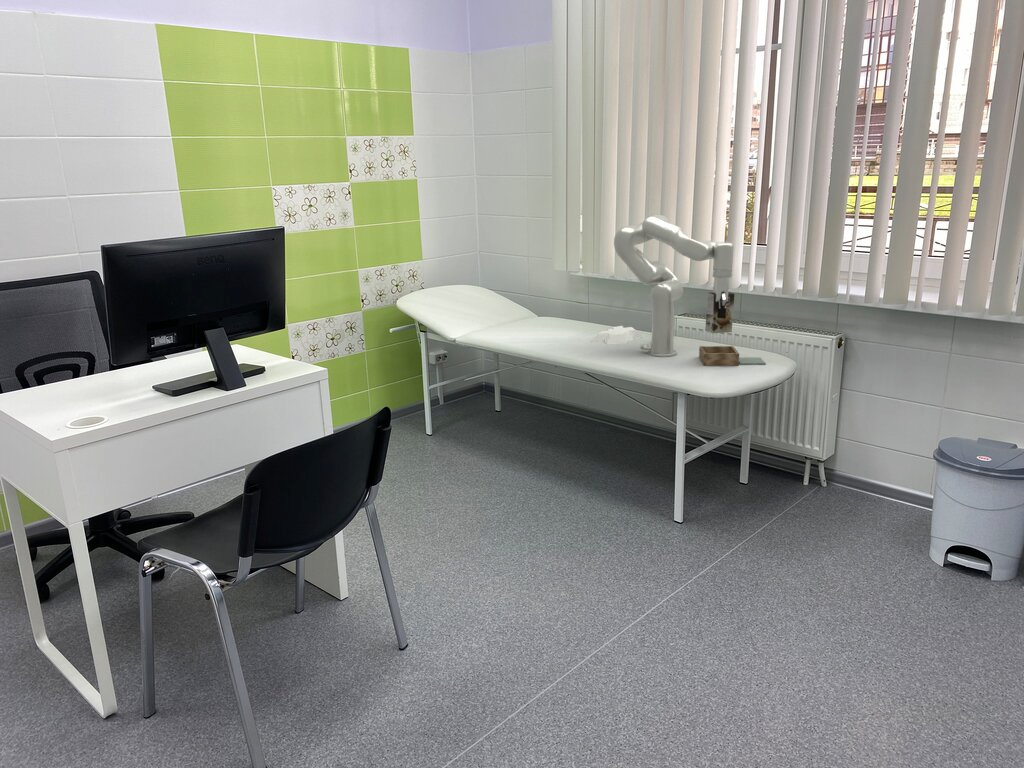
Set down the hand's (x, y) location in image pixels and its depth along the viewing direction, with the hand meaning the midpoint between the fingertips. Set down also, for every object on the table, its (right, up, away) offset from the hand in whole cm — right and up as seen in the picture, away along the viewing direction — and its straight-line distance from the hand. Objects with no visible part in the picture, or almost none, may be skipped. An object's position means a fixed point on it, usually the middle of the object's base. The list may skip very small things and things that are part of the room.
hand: (719, 315), depth 311 cm
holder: (+1, -19, +5) cm, 19 cm away
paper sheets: (-35, -8, +50) cm, 61 cm away
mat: (+14, -19, +3) cm, 24 cm away
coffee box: (0, -7, +2) cm, 7 cm away
